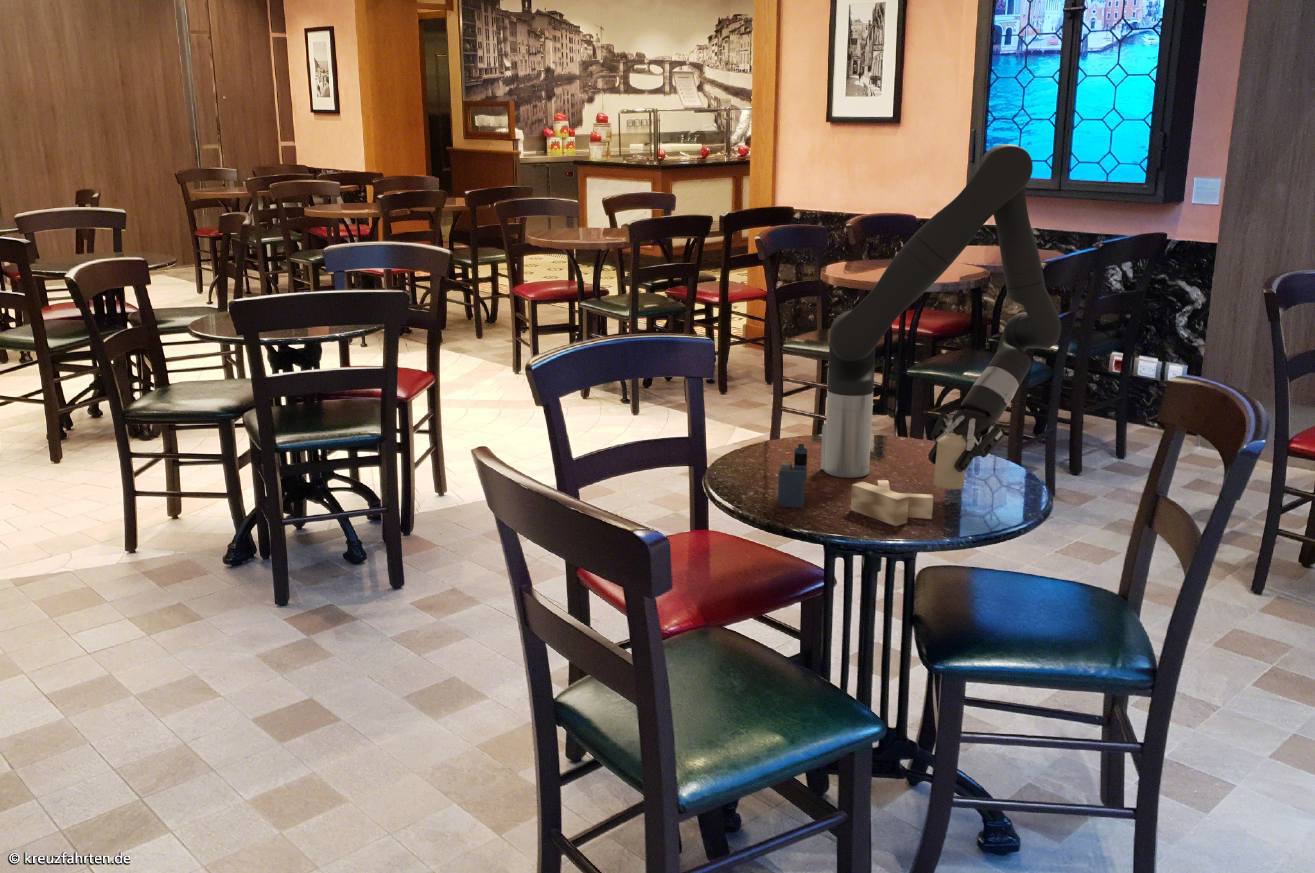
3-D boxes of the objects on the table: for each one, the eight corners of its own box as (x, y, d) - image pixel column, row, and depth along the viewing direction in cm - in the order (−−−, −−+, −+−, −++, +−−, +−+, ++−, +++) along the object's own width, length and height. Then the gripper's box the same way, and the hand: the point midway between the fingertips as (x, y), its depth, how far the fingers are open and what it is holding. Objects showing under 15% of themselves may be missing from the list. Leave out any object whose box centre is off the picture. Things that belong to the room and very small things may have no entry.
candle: (931, 480, 210) (935, 430, 208) (959, 481, 210) (964, 431, 208) (937, 489, 205) (941, 438, 202) (966, 490, 205) (971, 439, 202)
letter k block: (846, 508, 204) (847, 482, 203) (881, 498, 210) (882, 473, 208) (901, 528, 194) (902, 501, 192) (937, 517, 199) (938, 491, 198)
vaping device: (805, 508, 204) (807, 446, 201) (777, 506, 205) (778, 445, 202) (806, 504, 206) (808, 443, 203) (778, 502, 207) (780, 441, 204)
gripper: (952, 377, 212) (906, 445, 209) (1015, 391, 201) (967, 463, 198) (967, 400, 217) (922, 467, 213) (1029, 415, 206) (983, 486, 202)
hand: (944, 465), depth 206 cm, fingers closed on candle, 5 cm apart
